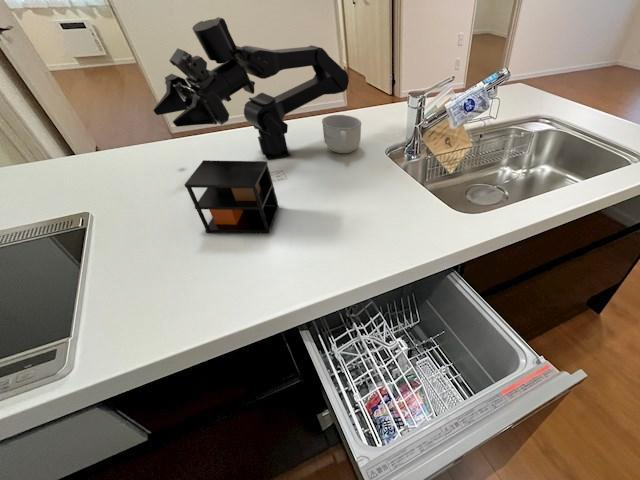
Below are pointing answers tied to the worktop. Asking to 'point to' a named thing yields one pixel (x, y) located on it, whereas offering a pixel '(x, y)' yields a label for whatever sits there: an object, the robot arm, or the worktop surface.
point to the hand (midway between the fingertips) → (164, 118)
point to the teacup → (342, 133)
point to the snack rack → (235, 196)
